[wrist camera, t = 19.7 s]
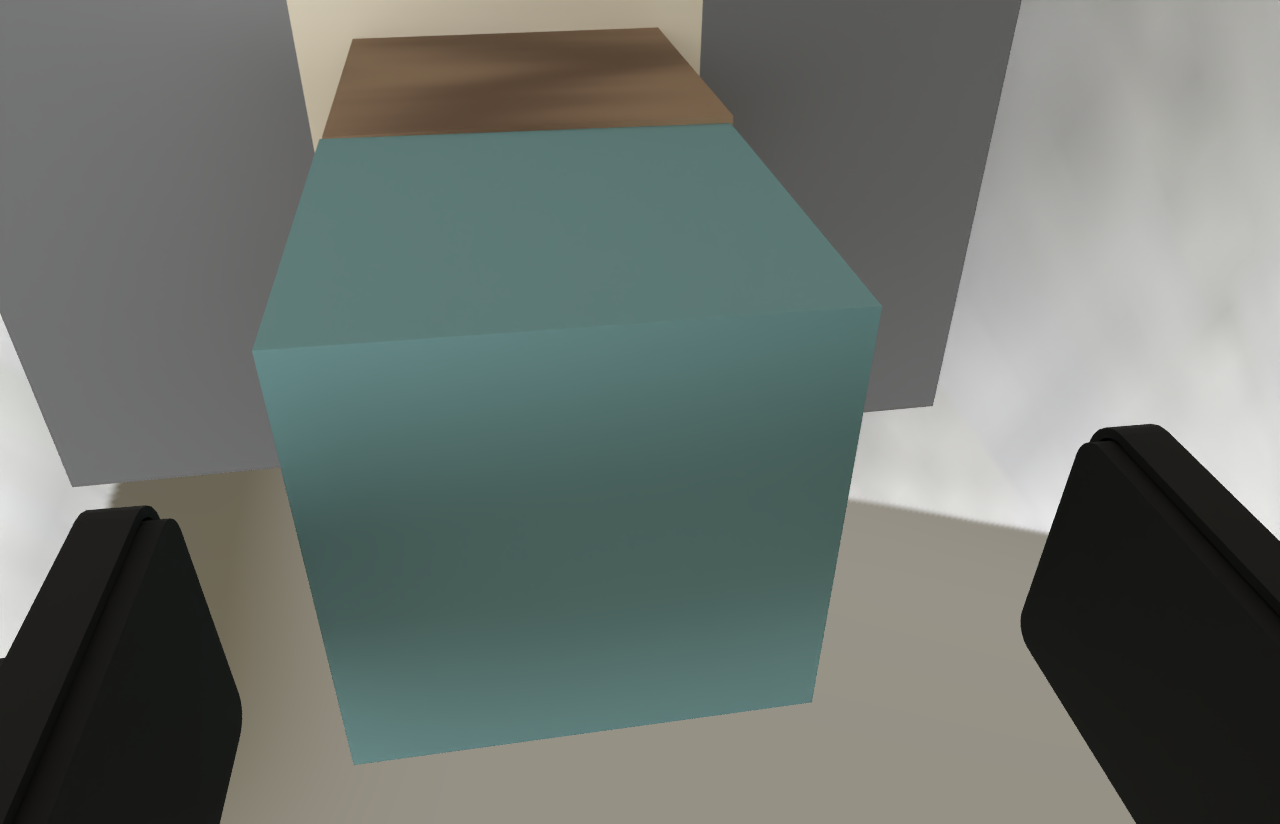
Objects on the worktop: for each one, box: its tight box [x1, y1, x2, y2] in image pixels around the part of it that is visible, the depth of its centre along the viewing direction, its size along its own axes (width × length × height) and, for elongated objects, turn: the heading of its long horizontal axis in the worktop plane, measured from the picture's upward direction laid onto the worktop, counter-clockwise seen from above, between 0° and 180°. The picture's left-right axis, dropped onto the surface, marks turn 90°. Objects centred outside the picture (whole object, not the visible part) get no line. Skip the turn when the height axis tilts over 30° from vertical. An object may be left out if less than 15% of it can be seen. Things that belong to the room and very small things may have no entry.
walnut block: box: [322, 27, 733, 139], centre depth 18 cm, size 6×6×6 cm
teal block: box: [252, 123, 882, 765], centre depth 13 cm, size 6×6×6 cm
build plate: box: [0, 0, 1021, 487], centre depth 21 cm, size 22×14×2 cm, turn 89°
